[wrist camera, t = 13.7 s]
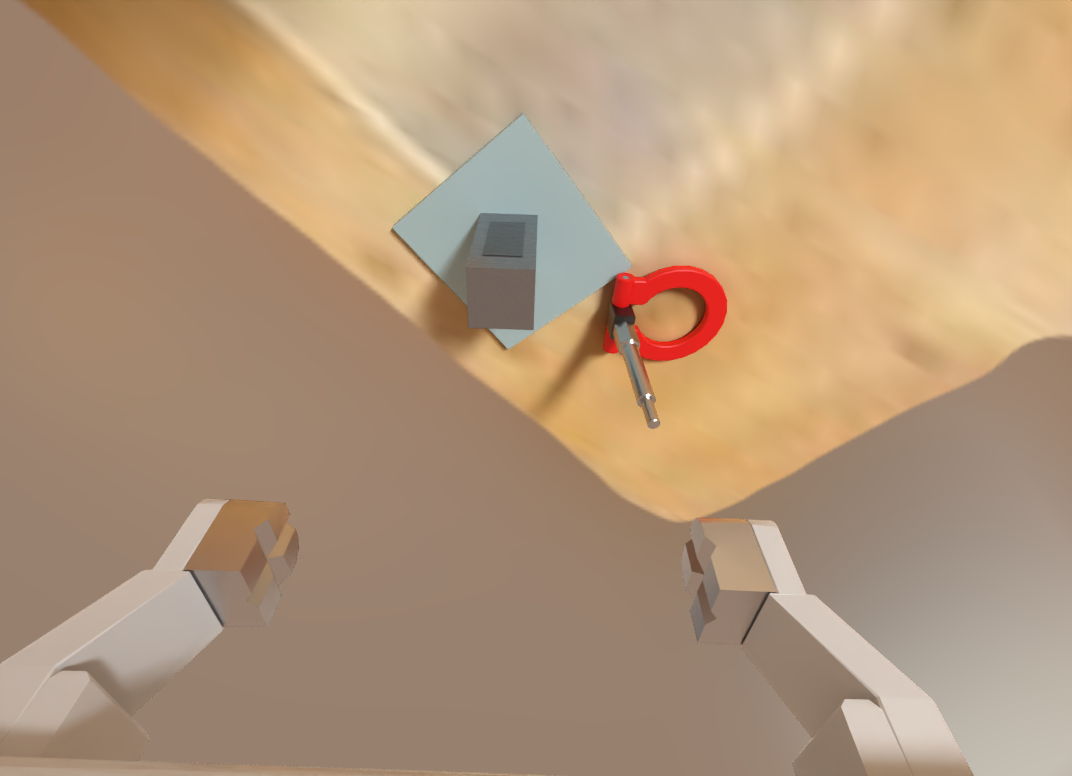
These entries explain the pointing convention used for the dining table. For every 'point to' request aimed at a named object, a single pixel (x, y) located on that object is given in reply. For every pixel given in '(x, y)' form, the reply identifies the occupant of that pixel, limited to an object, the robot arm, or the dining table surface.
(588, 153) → the dining table surface
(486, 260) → the link block
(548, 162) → the pad
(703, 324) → the tow hook
